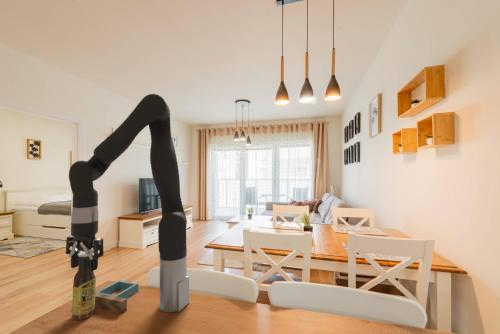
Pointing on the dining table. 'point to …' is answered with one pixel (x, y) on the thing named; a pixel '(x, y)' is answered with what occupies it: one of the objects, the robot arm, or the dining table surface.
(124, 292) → the square collar
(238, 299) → the dining table surface
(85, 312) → the sauce bottle
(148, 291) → the dining table surface
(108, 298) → the walnut rail
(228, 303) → the dining table surface
